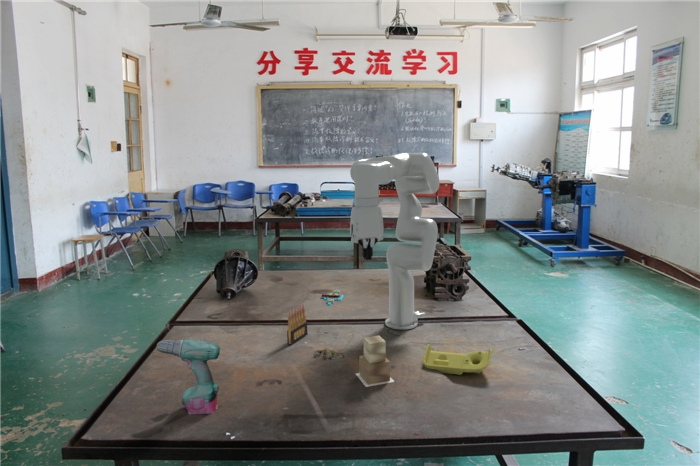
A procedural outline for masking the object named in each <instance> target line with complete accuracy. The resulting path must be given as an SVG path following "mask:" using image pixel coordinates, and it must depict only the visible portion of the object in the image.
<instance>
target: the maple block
mask: <svg viewBox="0 0 700 466" xmlns="http://www.w3.org/2000/svg"><path fill="white" fill-rule="evenodd" d="M386 345H387V341H386V340H385V339H384V338H382V337H381V336H380V334H379V335H372V336H366V337H363V355H364V358H365V359H366V360H367V361H368V362H369V363H375V362H381V361H386V358H387V357H386V355H387V353H386V351H387V350H386V349H387V348H386V347H387V346H386Z"/></svg>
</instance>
